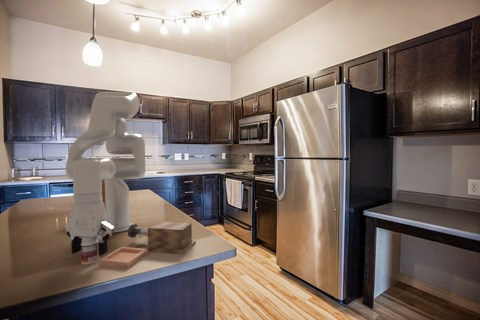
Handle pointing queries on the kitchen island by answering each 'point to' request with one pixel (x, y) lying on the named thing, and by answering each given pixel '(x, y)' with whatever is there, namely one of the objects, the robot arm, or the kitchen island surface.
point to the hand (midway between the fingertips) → (89, 253)
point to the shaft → (137, 231)
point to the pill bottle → (89, 250)
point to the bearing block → (167, 238)
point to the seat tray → (123, 257)
